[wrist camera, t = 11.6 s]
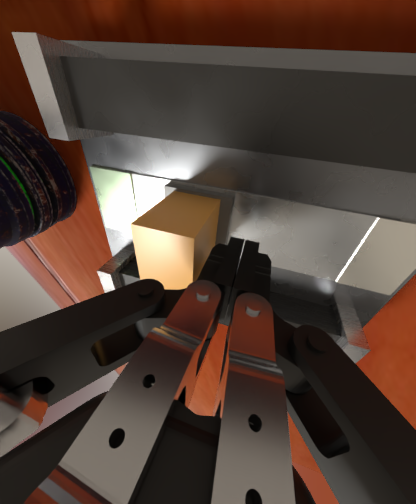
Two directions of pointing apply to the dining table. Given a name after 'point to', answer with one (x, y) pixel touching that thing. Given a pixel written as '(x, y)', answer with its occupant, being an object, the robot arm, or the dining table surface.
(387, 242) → the grey flat railed piece
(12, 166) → the dark blue cylinder
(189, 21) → the dining table surface
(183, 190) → the toggle
